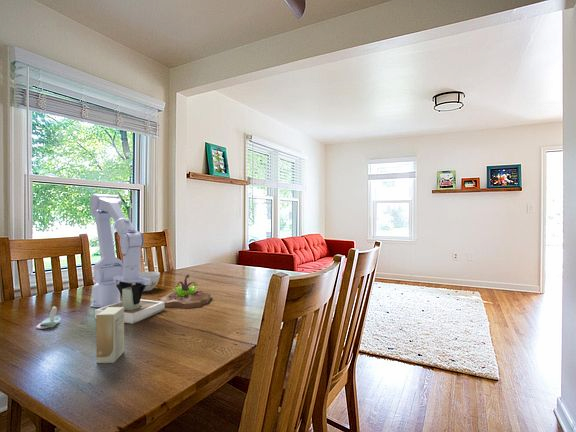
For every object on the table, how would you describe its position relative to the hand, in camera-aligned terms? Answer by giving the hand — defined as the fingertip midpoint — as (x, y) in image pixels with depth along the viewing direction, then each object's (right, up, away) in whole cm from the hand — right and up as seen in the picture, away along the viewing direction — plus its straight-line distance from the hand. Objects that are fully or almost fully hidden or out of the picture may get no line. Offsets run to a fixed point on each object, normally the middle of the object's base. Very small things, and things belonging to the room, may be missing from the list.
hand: (131, 303), depth 116 cm
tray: (0, -4, 0) cm, 4 cm away
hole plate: (0, -4, 0) cm, 4 cm away
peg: (0, -3, 0) cm, 3 cm away
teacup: (-11, -4, +37) cm, 38 cm away
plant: (+14, -5, +18) cm, 23 cm away
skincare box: (+12, -5, -35) cm, 37 cm away
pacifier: (-21, -4, -13) cm, 25 cm away
